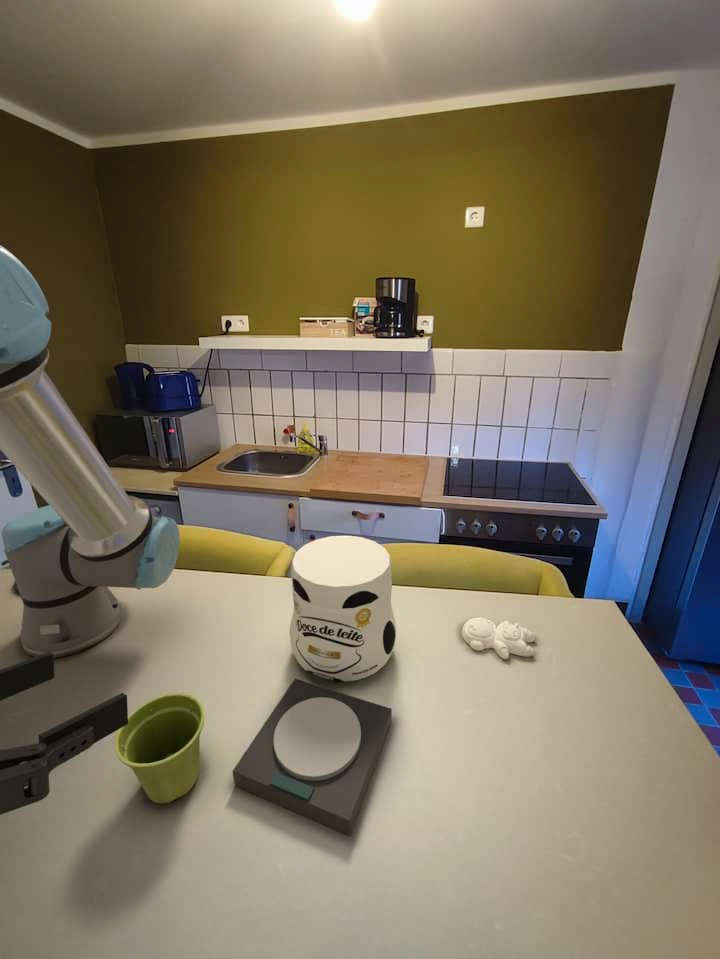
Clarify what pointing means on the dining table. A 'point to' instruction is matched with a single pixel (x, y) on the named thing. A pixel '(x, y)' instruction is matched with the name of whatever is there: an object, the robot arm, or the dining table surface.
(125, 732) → the plant pot
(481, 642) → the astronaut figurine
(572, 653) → the dining table surface
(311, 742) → the scale
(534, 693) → the dining table surface
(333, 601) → the milk container
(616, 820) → the dining table surface
